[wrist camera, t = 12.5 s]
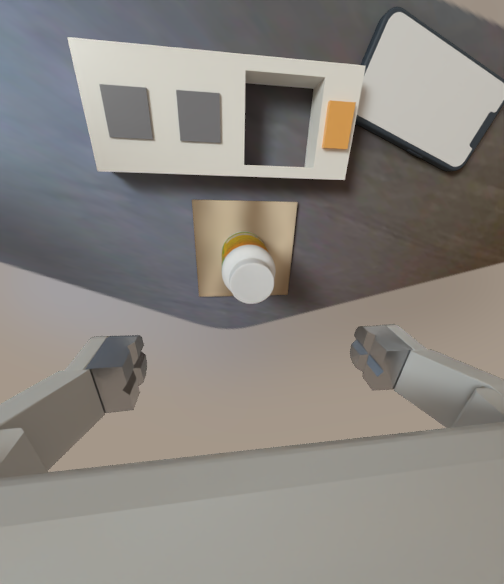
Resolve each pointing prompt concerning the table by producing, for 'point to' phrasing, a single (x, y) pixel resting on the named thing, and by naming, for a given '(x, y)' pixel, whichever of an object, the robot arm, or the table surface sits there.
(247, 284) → the supplement bottle
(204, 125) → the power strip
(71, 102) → the table surface
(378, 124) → the phone case
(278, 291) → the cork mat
